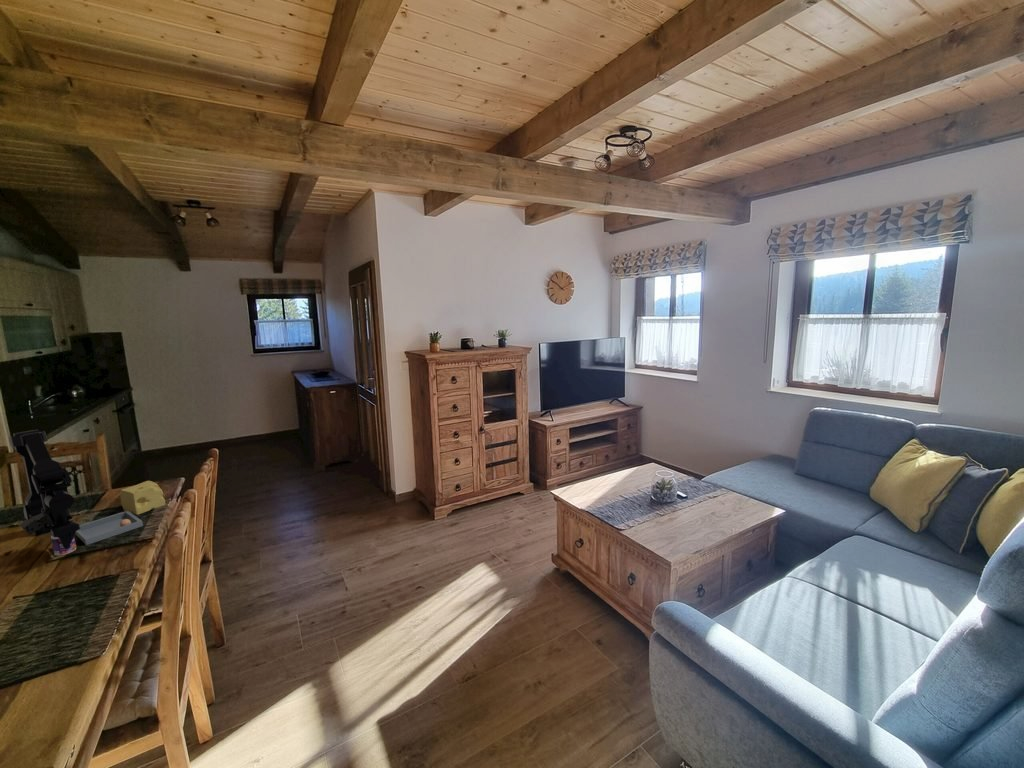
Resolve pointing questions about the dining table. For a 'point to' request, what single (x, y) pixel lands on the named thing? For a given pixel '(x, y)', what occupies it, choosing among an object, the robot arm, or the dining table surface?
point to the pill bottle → (59, 547)
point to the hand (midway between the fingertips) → (64, 545)
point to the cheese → (142, 497)
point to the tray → (107, 527)
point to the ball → (125, 522)
